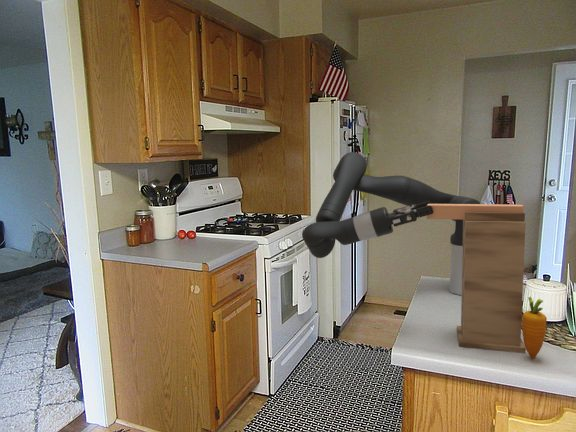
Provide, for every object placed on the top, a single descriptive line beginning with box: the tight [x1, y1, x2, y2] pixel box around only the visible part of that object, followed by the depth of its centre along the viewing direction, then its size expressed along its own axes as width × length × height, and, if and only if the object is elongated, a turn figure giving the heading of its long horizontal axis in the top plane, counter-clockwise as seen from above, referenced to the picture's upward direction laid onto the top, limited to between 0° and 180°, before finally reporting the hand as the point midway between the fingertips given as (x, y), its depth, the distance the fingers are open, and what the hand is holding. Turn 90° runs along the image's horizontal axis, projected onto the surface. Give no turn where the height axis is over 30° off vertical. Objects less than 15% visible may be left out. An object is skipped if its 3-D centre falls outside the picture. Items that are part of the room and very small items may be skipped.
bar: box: [426, 203, 524, 220], centre depth 108 cm, size 4×22×4 cm, turn 67°
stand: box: [456, 212, 527, 354], centre depth 109 cm, size 11×15×34 cm
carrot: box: [521, 296, 547, 359], centre depth 100 cm, size 5×5×15 cm
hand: (431, 206), depth 114 cm, fingers open, 8 cm apart
